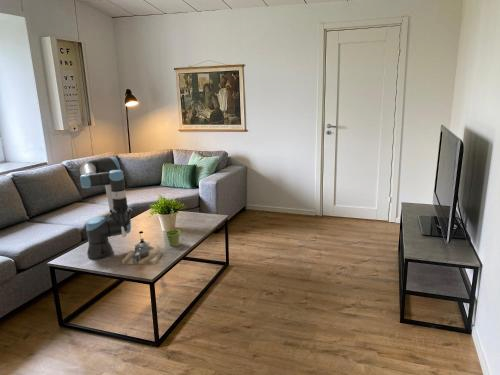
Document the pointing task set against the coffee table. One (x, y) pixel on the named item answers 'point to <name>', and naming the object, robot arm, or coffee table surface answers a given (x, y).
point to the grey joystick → (142, 241)
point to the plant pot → (173, 237)
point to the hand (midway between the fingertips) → (124, 236)
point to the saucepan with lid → (140, 252)
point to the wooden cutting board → (149, 259)
